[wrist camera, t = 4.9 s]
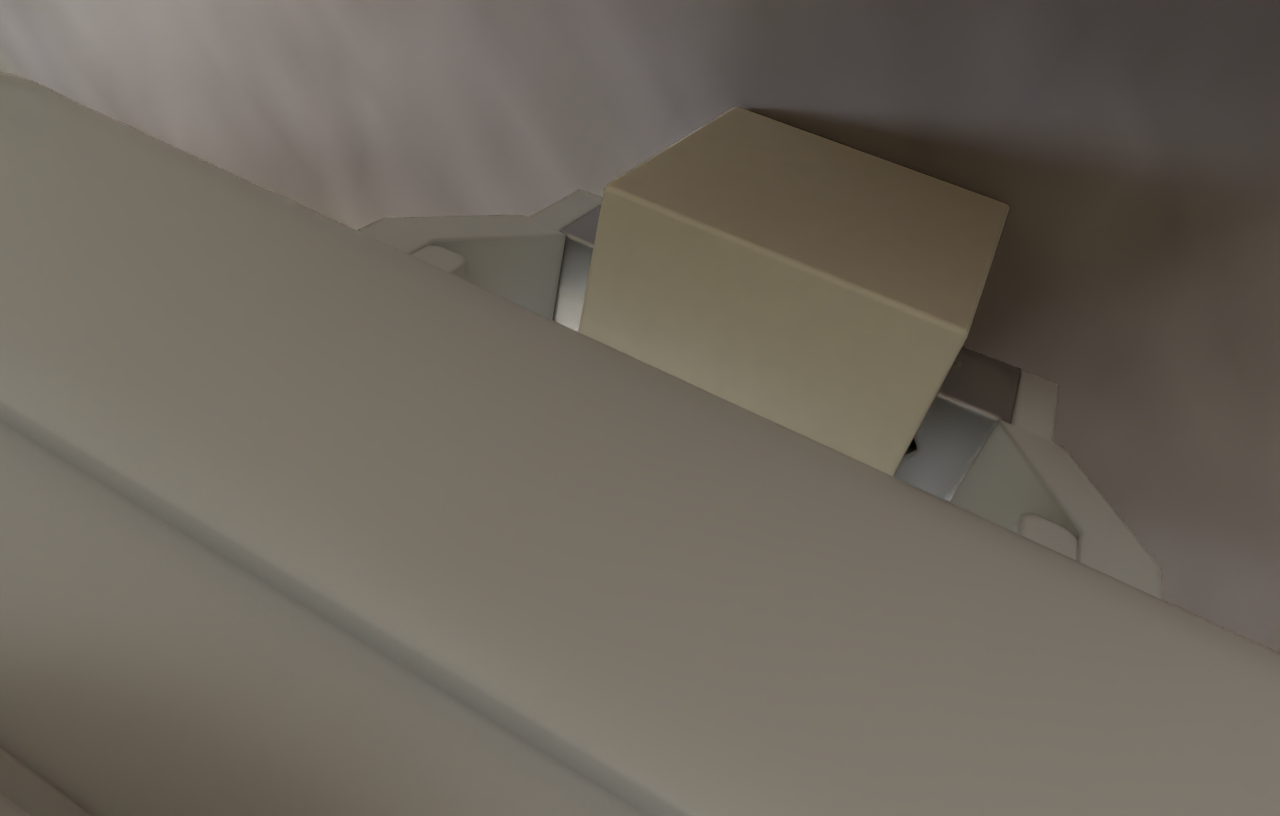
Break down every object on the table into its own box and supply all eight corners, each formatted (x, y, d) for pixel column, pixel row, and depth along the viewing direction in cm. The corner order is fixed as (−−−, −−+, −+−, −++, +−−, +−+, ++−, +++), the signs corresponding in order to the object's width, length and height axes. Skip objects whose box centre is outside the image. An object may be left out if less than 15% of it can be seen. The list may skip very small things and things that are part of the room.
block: (894, 433, 15) (827, 598, 11) (673, 334, 16) (552, 459, 12) (1012, 203, 12) (970, 332, 9) (735, 104, 13) (603, 183, 10)
